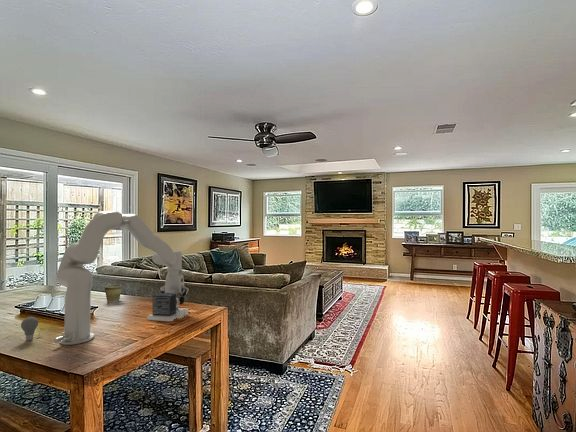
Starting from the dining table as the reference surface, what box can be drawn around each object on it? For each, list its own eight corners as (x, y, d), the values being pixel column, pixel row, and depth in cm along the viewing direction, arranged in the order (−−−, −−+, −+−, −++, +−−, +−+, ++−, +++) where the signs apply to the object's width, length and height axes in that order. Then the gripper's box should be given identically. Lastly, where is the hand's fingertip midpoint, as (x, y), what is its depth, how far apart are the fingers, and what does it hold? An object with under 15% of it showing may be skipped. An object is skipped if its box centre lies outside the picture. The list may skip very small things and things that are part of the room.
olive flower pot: (117, 303, 204) (117, 287, 204) (101, 303, 204) (101, 287, 204) (127, 298, 217) (127, 283, 217) (111, 298, 217) (112, 283, 217)
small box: (176, 312, 177) (176, 293, 177) (170, 316, 171) (170, 296, 171) (158, 311, 179) (158, 292, 179) (151, 315, 172) (152, 295, 172)
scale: (175, 322, 167) (175, 316, 167) (146, 319, 171) (146, 314, 171) (193, 312, 185) (193, 307, 185) (167, 310, 189) (167, 305, 189)
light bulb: (36, 336, 146) (36, 314, 146) (40, 339, 142) (40, 316, 143) (19, 340, 142) (19, 317, 142) (22, 343, 138) (22, 320, 138)
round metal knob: (175, 310, 181) (175, 299, 181) (168, 310, 182) (168, 299, 182) (180, 308, 185) (180, 298, 185) (172, 308, 186) (173, 297, 186)
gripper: (191, 272, 186) (191, 302, 185) (164, 271, 190) (164, 300, 189) (184, 274, 178) (184, 305, 178) (156, 273, 182) (156, 303, 182)
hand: (174, 303), depth 184 cm, fingers open, 9 cm apart
